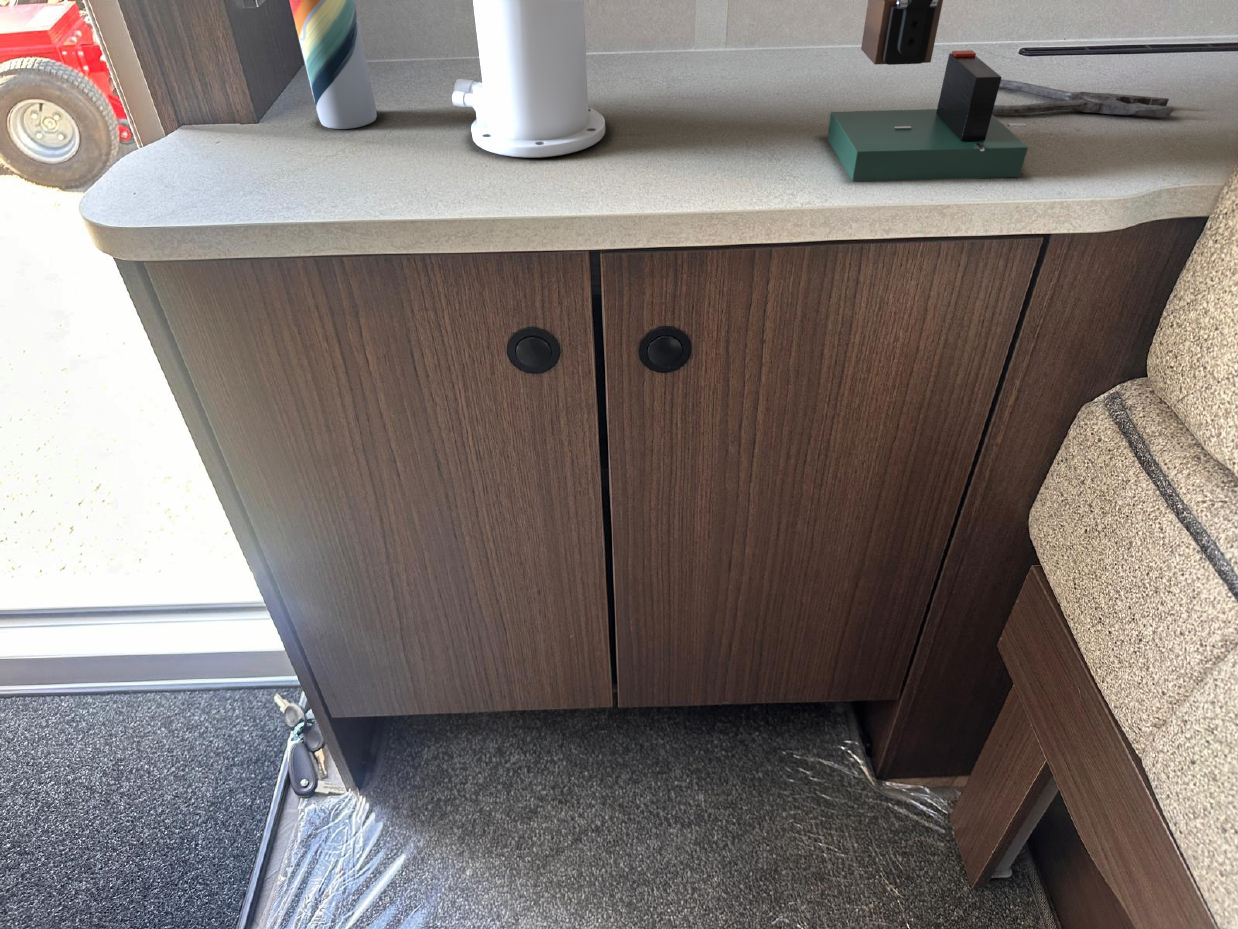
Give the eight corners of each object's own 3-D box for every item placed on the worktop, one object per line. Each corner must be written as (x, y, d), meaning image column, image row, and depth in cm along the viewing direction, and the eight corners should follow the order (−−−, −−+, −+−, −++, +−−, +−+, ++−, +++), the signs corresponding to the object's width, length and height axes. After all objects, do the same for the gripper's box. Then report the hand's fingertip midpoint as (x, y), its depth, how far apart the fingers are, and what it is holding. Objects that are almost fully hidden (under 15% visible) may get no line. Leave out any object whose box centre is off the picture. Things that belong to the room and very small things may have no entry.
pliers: (943, 75, 88) (1143, 77, 86) (941, 84, 89) (1140, 86, 86) (960, 105, 81) (1180, 108, 79) (958, 114, 81) (1176, 117, 79)
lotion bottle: (316, 116, 85) (256, -124, 72) (372, 107, 86) (324, -128, 74) (324, 133, 81) (263, -117, 68) (383, 124, 82) (334, -122, 70)
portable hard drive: (985, 140, 69) (1002, 73, 66) (960, 141, 69) (977, 74, 66) (958, 113, 74) (973, 49, 71) (935, 113, 74) (949, 50, 71)
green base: (853, 184, 69) (859, 152, 67) (825, 137, 78) (829, 107, 76) (1041, 179, 69) (1051, 147, 67) (993, 132, 78) (1001, 102, 76)
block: (874, 64, 66) (884, 1, 63) (860, 49, 70) (869, -12, 67) (930, 62, 66) (943, -1, 63) (914, 47, 70) (925, -14, 67)
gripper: (858, -239, 62) (826, 29, 74) (926, -238, 50) (874, 87, 61) (959, -243, 62) (910, 26, 74) (1053, -242, 49) (976, 83, 61)
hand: (894, 51), depth 68 cm, fingers closed on block, 4 cm apart
